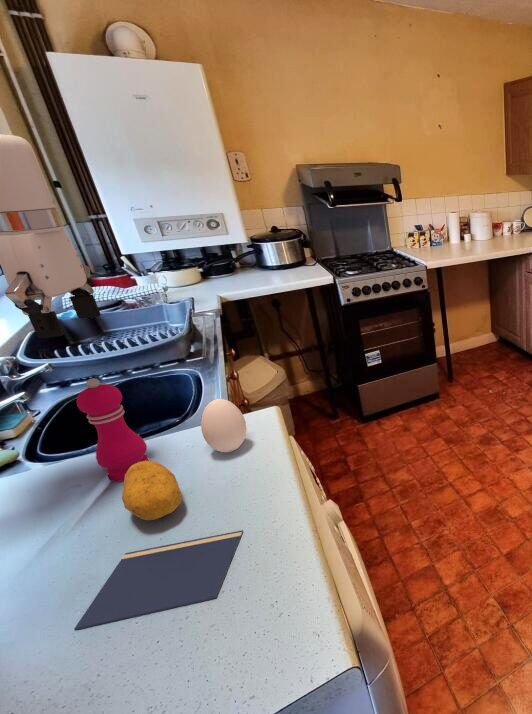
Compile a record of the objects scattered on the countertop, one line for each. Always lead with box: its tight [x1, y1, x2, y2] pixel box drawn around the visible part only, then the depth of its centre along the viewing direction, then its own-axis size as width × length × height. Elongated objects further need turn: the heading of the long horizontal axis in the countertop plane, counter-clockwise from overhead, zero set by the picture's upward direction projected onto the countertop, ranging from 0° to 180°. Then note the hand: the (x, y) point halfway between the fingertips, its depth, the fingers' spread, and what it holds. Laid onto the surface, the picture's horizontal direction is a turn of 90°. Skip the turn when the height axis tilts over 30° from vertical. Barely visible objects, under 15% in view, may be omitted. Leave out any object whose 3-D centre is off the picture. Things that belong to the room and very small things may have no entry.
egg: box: [200, 398, 248, 453], centre depth 88 cm, size 7×7×12 cm
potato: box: [121, 460, 183, 521], centre depth 74 cm, size 7×14×7 cm, turn 45°
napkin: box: [73, 529, 244, 631], centre depth 62 cm, size 16×12×1 cm
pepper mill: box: [76, 377, 150, 483], centre depth 81 cm, size 7×7×20 cm
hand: (72, 326), depth 73 cm, fingers open, 9 cm apart
